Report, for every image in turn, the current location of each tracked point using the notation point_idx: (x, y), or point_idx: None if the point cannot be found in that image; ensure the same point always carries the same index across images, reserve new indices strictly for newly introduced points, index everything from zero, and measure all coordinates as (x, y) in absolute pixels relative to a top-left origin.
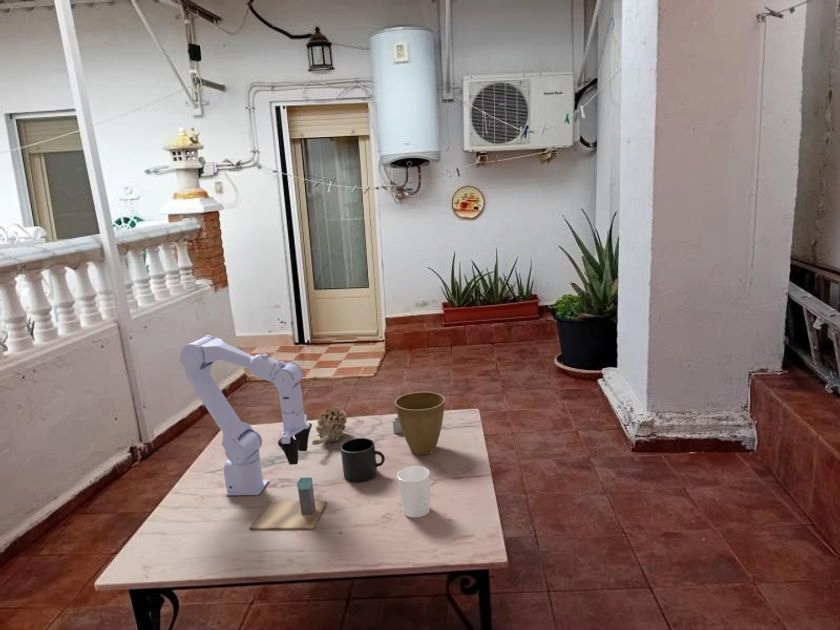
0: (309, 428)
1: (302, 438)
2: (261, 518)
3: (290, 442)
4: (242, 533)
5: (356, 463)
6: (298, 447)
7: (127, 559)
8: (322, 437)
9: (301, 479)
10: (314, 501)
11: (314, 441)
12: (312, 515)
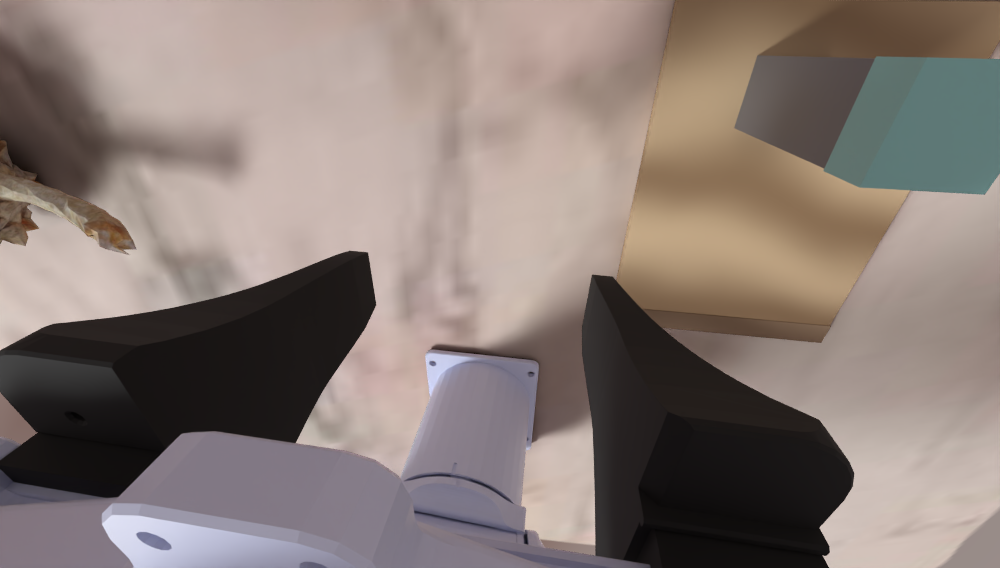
0: (149, 348)
1: (300, 343)
2: (755, 314)
3: (815, 552)
4: (833, 353)
5: None
6: (638, 356)
7: (831, 561)
8: (23, 216)
9: (912, 169)
10: (784, 56)
11: (110, 240)
12: (841, 53)
